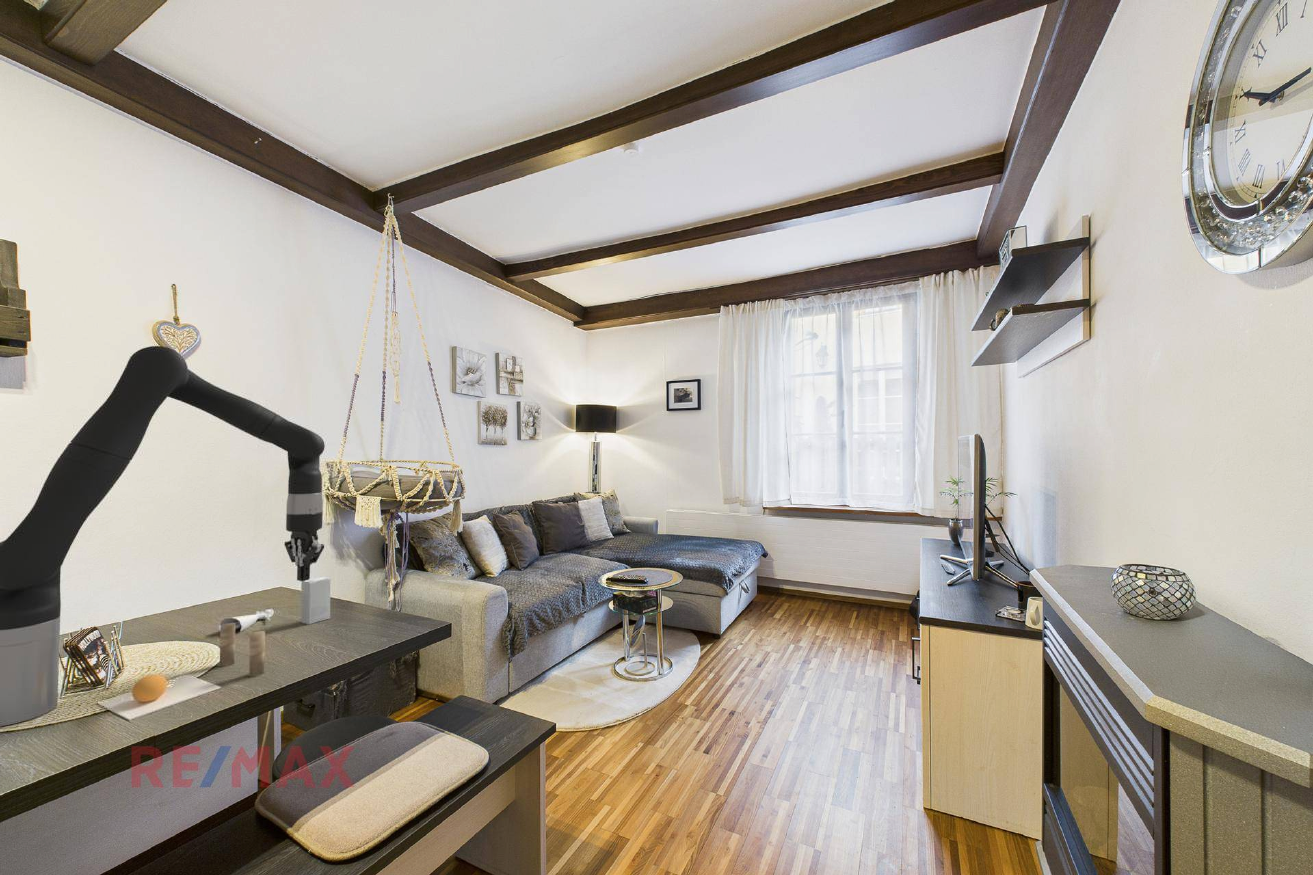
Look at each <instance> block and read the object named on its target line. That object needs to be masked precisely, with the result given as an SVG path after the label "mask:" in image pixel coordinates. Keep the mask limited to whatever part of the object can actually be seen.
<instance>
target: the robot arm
mask: <svg viewBox="0 0 1313 875" xmlns="http://www.w3.org/2000/svg"><path fill="white" fill-rule="evenodd" d="M167 398H171V399H174V400H175V401H176V400H177V401H179V402H181V403H184V404H187V405H189V406H192V407H194V408H196V409H199V410H201V411H203V412H205V413H208V414H209V415H211V416H213V417H215V418H217V419H219V420H221V421H222V422H224V423H227V424H229V425H230V426H232V427H234V428H235V429H238V430H240V431H242V432H244V433H246V434H248V435H250V436H253V437H254V438H256V439H259V440H260V441H263V442H265V443H269V444H272V445H274V446H276V447H278V448H280V449H281V450H284V451H285V452H287V464H288V470H289V472H288V479H287V480H288V483H287V487H288V488H287V490H288V491H287V493H288V494H287V498H286V499H287V500H286V508H285V509H286V510H285V512H286V513H285V514H286V515H285V516H286V519H285V521H286V522H285V529H286V530H285V531H287V532H289V533H290V532H291V534H290V539H289V540H288V541H284V547H285V549H286V551H287V555H288V557H289V559H290V561H291V563H294V565H295V566H297V568H296V577H297V578H296V581H299V582H302V581H306V580H309V579H311V578H310V577H311V576H310V575H311V565H312V564H317V562H318V559H319V558H320V556H321V554H322V552H323V551H324V549H325V544H324V543H321V544H320V543H319V541H318V540H319V535H318V530H321V529H322V528H323V514H324V513H323V512H324V511H323V506H324V502H323V493H322V492H323V478H322V472H321V470H320V457H321V456H322V454H323V452H324V451H325V447H326V446H325V445H326V444H325V441H324V439H323V438H322V437H321V436H320V435H319V434H317V432H314V431H312V430H310V429H308V428H306V427H304V426H301V425H299V424H296V423H295V422H292V421H290V420H288V419H286V418H284V417H282V416H281V415H280V414H278V413H277V412H274V411H272V410H270V409H268V408H267V407H265V406H263V405H261V404H258V403H256V402H254V401H252V400H250V399H247V398H245V397H242V396H239V395H237V394H235V393H232V392H230V391H227V390H225V389H222V388H221V387H219V386H216V385H215V384H212V383H211V382H208V381H207V380H205V379H204V378H202V377H200V376H199V375H197V373H194V372H193V371H192V370H191V369H189V368H188V364H187V362H186V360H185V358H184V357H183V356H182V355H181V354H180V353H179V352H178V351H176V350H175V349H172V348H170V347H168V346H162V345H151V346H147V347H143V348H141V349H139V350H137V351H135V352H134V353H132V354H131V356H130V357H129V359H128V360H127V364H126V366H125V368H124V370H123V371H122V374H121V375H120V378H119V379H118V381H117V382H116V384H115V386H114V387H113V390H112V391H111V393H110V394H109V396H108V397H107V399H106V400H105V401H104V402H103V403H102V404H101V405H100V406H99V408H98V409H97V410H96V411H95V412H94V413H93V414H92V415H91V417H90V418H89V419H88V420H87V421H85V423H84V425H83V426H82V427H81V428H80V429H79V431H78V432H77V433H76V435H75V436H74V437H72V439H71V441H70V442H69V443H68V444H67V445H66V447H65V449H64V450H63V452H62V453H61V454H60V456H59V457H58V459H57V460H56V462H55V463H54V464H53V467H52V468H51V469H50V472H49V474H48V475H47V477H46V479H45V481H44V483H43V485H42V487H41V490H40V491H39V495H38V496H37V499H36V500H35V503H34V505H33V506H32V507H31V509H30V510H29V511H28V514H26V516H25V517H24V518H23V520H22V521H21V522H20V523H19V525H17V527H16V528H15V529H14V530H13V532H11V534H10V535H9V536H8V537H7V538H6V539H5V540H3V541H0V727H4V726H10V725H13V724H17V723H21V722H22V723H23V722H25V721H29V720H32V719H34V718H37V717H41V716H43V715H45V714H47V713H49V712H51V711H52V710H54V709H56V708H57V707H58V701H59V675H60V674H59V672H60V671H59V667H60V665H59V664H60V643H61V642H60V639H61V637H60V636H61V635H60V634H61V610H62V608H61V606H62V605H61V604H62V602H61V599H62V598H61V574H62V573H61V568H62V566H63V565H64V561H65V559H66V557H67V555H68V553H69V551H70V550H71V549H70V548H71V547H72V545H73V543H74V541H75V539H76V538H77V535H78V534H79V532H80V529H81V528H82V526H84V524H85V522H86V521H87V519H88V518H89V517H90V515H91V514H92V513H93V512H94V511H95V509H96V508H97V507H98V506H99V505H100V503H101V502H102V501H103V500H104V499H105V497H106V496H107V494H108V493H109V492H110V491H111V490H112V488H113V487H114V486H115V485H116V483H117V482H118V480H119V479H120V477H121V476H122V475H123V474H124V472H125V471H126V469H127V468H128V466H129V464H130V463H131V461H132V459H133V458H134V457H135V455H136V454H137V451H138V449H139V448H140V445H141V444H142V441H143V439H144V437H145V435H146V432H147V430H148V428H149V425H150V423H151V421H152V418H153V417H154V415H155V414H156V413H157V411H158V410H159V408H160V406H161V405H163V403H164V402H165V400H166V399H167Z"/></svg>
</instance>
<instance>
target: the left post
mask: <svg viewBox="0 0 1313 875" xmlns="http://www.w3.org/2000/svg"><path fill="white" fill-rule="evenodd" d="M219 633H220V639H219V667H228V666H231V665H233V664H235V656H236V654H235V652H236V651H235V649H236V648H235V646H236V629H235V623H227V624H223V625H221V632H220V631H219Z"/></svg>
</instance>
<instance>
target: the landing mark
mask: <svg viewBox="0 0 1313 875" xmlns="http://www.w3.org/2000/svg"><path fill="white" fill-rule="evenodd" d="M184 675H185V676H184ZM184 675H180V676H176V677H174V678H175V679H173V678H170V679H169V680H171V679H172V680H178V681H167V682H168V684H174V685H171V686H172V687H167V689H166V691H165V692H164V693H163V694H162V695H161V696H160V697H159V698H157V699H156V700H153V701H150V702H139V701H136V700H135V699H134V698H130V697H133V696H132V691H129V692H126V693H123V694H121V695H120V694H119V695H117V696H113V697H111V698H108V699H105V700H103V701H105V702H103V703H98V702H97V703H98V704H101V706H100V707H102V706H104V707H105V708H104V707H103V708H104V709H106V708H107V710H109V711H111V712H112V713H114V714H116V715H117V716H120V717H122V718H124V719H126V720H128V721H132V720H135V719H137V718H141V717H143V716H145V715H149V714H153V713H154V712H157V711H160V710H164V709H166V708H169V707H172V706H174V705H175V706H176V705H177V704H181V703H184V702H186V701H188V700H192V699H194V698H198V697H200V696H203V695H206V694H209V693H212V692H215V691H217V690H220V689H222V687H221V686H219V685H216V684H214V683H211V682H209V681H206V680H204V679H200V678H198V677H195V676H192V675H190V674H184ZM176 678H178V679H176ZM169 682H174V683H169ZM176 682H177V683H176ZM130 693H131V694H130ZM122 697H123V698H122ZM122 699H123V700H122ZM131 699H133V700H131ZM106 701H108V702H106ZM109 701H110V702H109ZM98 704H97V705H98Z"/></svg>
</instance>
